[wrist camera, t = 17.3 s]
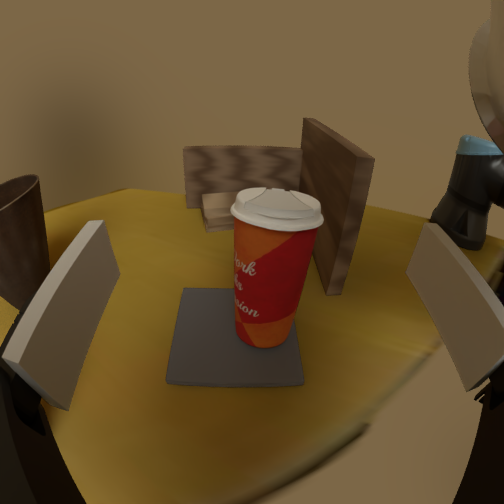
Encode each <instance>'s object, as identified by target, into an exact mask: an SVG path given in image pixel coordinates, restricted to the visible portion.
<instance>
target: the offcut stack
mask: <svg viewBox="0 0 504 504" xmlns="http://www.w3.org/2000/svg"><path fill="white" fill-rule="evenodd" d="M238 193H239V192H226V193H213V194H202V203H203V204H201V212H202V216H203V220H204V224H205V228H206V232H215V231H223V230H232V229H234V216H233V214H232V213H231V211H230V210H231V207H232V205H233V204H234V203H235V201H236V197H237V194H238Z"/></svg>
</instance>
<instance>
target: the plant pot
mask: <svg viewBox="0 0 504 504" xmlns="http://www.w3.org/2000/svg"><path fill="white" fill-rule="evenodd" d="M49 273H50V262H49V253H48V244H47V236H46V228H45V220H44V213H43V206H42V199H41V192H40V184H39V177H38V176H37V175H34V174H30V175H24V176H20V177H17V178H14V179H11V180H9V181H6V182H4V183H2V184H0V296H1V297H2V298H4V299H5V300H6V301H7V302H9V303H10V304H11V305H13V306H14V307H15V308H17V309H18V310H21V308H22V306H23V305H24V303H25V301H26V300H27V299H28V298H29V297H30V296H31V295H32V294H33V293H34V292H35V291H38V290H39V288H40V287H41V285H42V284H43V282H44V281H45V279H46V277H47V276H48V275H49Z"/></svg>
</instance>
